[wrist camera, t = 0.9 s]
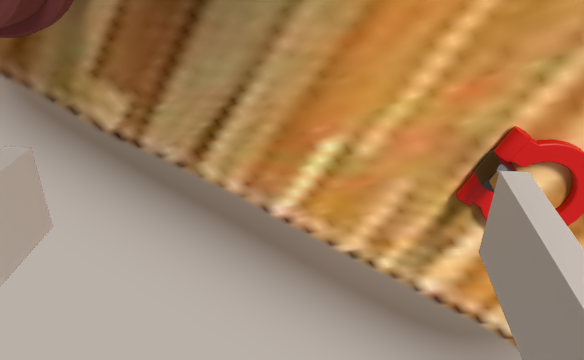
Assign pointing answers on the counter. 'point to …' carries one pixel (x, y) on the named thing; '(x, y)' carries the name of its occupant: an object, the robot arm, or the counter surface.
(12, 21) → the mechanical component
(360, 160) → the counter surface
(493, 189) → the tow hook
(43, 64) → the counter surface
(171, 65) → the counter surface
